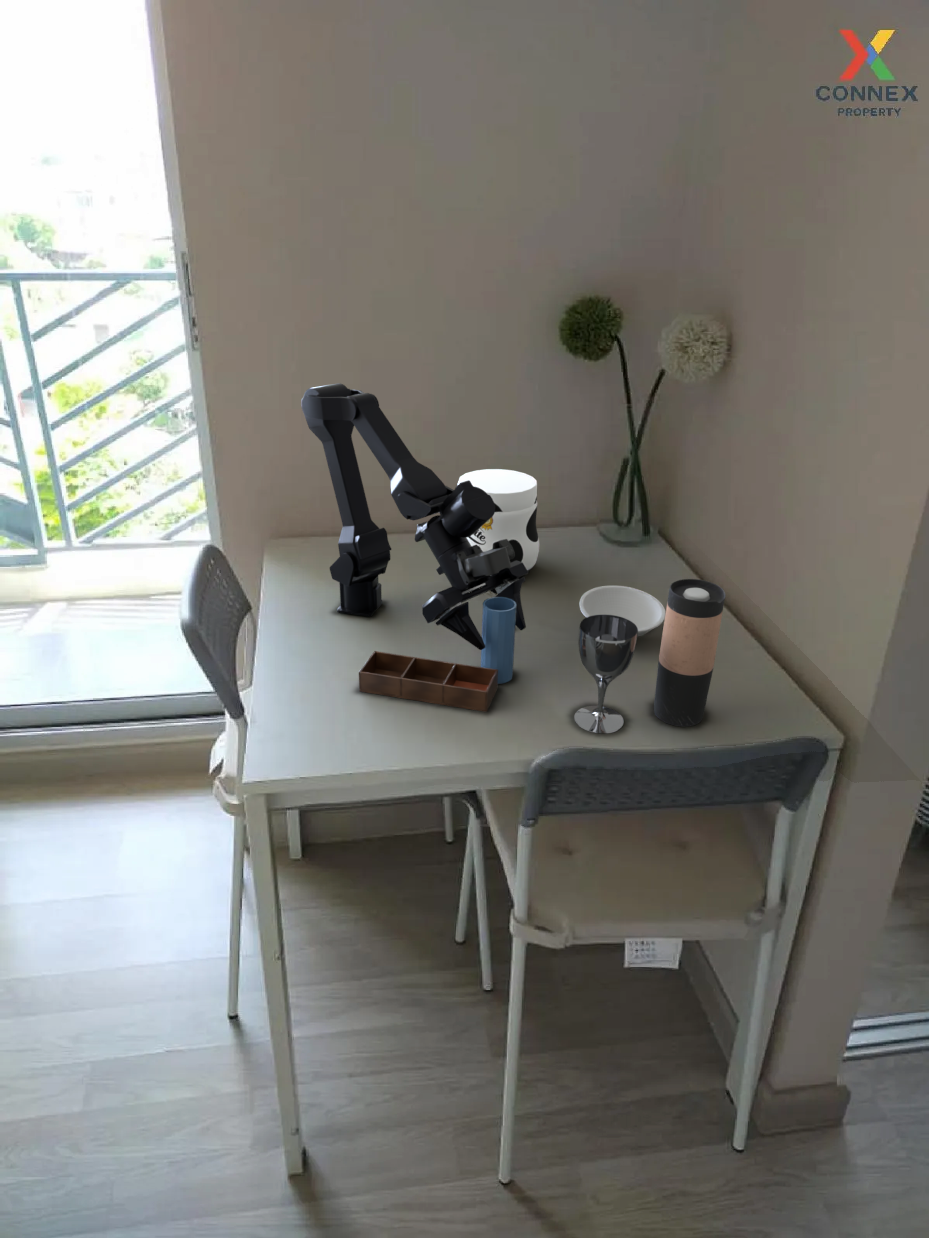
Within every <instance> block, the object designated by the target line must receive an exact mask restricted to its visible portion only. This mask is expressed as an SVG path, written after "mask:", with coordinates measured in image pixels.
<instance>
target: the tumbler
mask: <svg viewBox="0 0 929 1238" xmlns="http://www.w3.org/2000/svg"><path fill="white" fill-rule="evenodd" d="M516 607H517V605H516V602H515V601H513V600H512V599H509V598H506V597H495V596H491V597H487V598H486V599H484V600H483V602H482V614H481V637H482V640H483V642H484V644H485V648H484V649H482V650H480V667H484V668H491V669H497V670H498V684H497V685H499V684H505V683H508V682H510V681H512V680H513V676H514V675H513V674H514V664H515V663H514V662H515V661H514V660H515V644H516V643H515V642H516V627H517V626H516Z"/></svg>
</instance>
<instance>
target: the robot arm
mask: <svg viewBox="0 0 929 1238" xmlns="http://www.w3.org/2000/svg"><path fill="white" fill-rule="evenodd" d="M300 402H301V403H300V405H301V411H302V413H303V416H304V419H305V421H306V424H307V427H308V429H309V430H310V431H311V432H312V434H314V435H315V437H316V438H317V439H318V440H319V441H320V442H321V444H322V447H323V452H324V455H325V460H326V463H327V467H328V472H329V476H330V481H331V484H332V486H333V492H334V495H335V499H336V504H337V508H338V512H339V517H340V520H341V524H342V528H341V531H340V535H339V538H338V542H337V546H338V554H339V557H338V558H337V559H336V560H335V561H334V562H333V563H332V564H331V565H330V566H329V573H330V575H331V579H332V580H333V581H335V582H337V583H339V601H340V603H339V604H340V605H339V606H338V607H337V608H336V612H337V613H338V614H339V613H340V614H348V615H354V616H361V617H368V618H369V617H372V616H373V615H374V613H375V612H376V611H377V610H378V609H379V608H380V606H381V605H383V598H382V584H381V582H379V576H380V575H384V574H385V573H386V571H387V568H388V564H389V561H391V551H392V547H391V545H390V542H389V538H388V531H387V530H386V528H385V527H379V526H378V525H377V524H376V523H375V522H374V521H373V520H372V517H371V513H370V508H369V504H368V500H367V496H366V492H365V488H364V483H363V479H362V476H361V471H360V467H359V463H358V458H357V454H356V450H355V446H354V441H353V437H352V435H353V430H354V428H355V429H356V430H357V432H358V434H359V435H360V436H361V438H362V440H363V442H365V444H366V445H367V447H368V448H369V450H370V451H371V453H372V455H373V456H374V457H375V459H376V460H377V462H378V463H379V464H380V467H381V468H382V469H383V471H384V472H385V473H386V475H387V477H388V479H389V481H390V496H391V497H392V499H393V501H394V503H395V505H396V507H397V509H398V512H400V514H401V515H402V517H403V518H405V519H406V520H410V521H417V520H421V519H424V518H427V517H430V516H432V517H431V518H430V519H428V521H424V522H421V523H418V524H416V532H415V534H414V541H415V543H419V542H422V541H425V542H426V544H427V545H428V547H429V550H430V551H431V552H432V555H433V557H434V558H435V559H436V562H437V563H438V565H439V566H438V567H437V568H436V569H435V570H436V572H437V574H438V576H440V575H445V577H446V579H447V581H448V582H449V584H450V586H449V587H447V588H445V589H442V590H441V591H437V592H435V594H433V595H432V597H430V598H429V599H428V600H427V601H426V602H425V603H423V604H422V606H421V607H422V611H421V612H422V613H421V614H422V616H423V618H424V620H425V621H426V623H427V624H430V623H434V622H435V621H436V622H435V625H436V626H443V627H444V628H446V629H447V630H449V631H451V632H452V633H454V634H456V635H458V636H459V637H461V638H462V639H464V640H465V641H466V642H468V643H469V644H470V645H472V646H473V647H475V648H476V649H478V650H479V651H481V650H482V649H484V648H485V644H484V642H483V640H482V635H481V634H480V632H479V630H478V628H477V626H476V625H475V623H474V621H473V619H472V617H471V616H470V609H469V608H470V607H469V606H470V605H469V600H471V599H473V598H475V597H478V596H480V595H482V594H486V593H487V592H491V593H493V594H496V595H495V596H494V597H506V598H509V599H512V600H513V601H515V602H516V605H517V607H516V626H515V627H517V628H518V630H519V631H523V630H525V629H526V627H527V626H526V620H525V615H524V610H523V605H522V598H521V597H522V596H521V590H522V586H523V583H525V582H526V576H527V575H529V571H527V569H526V567H525V566H524V564H523V563H522V562H520V561H517V560H516V561H514V562H511V563H510V560H511V559H513V558H514V557H515V552H514V549H513V547H512V545H511V544H510V543H509V541H508V540H507V539H504V540H500V541H497V542H495V543H493V549H491V550H488V551H485V552H483V551H482V550H481V548H480V547H479V546H477V545H474V546H471V545H470V543H469V541H468V539H467V538H466V537H470V536H471V535H473V534H474V533H475V532H476V531H477V530H478V529H479V528H480V527H481V526H483V525H484V524H485V523H486V522H487V521H488V520H489V519H490V518H491V517H492V516H493V515H494V513H495V504H494V501H493V499H492V498H491V496H490V495H488V494H487V493H486V492H485V491H483V490H482V489H480V488H478V487H474V486H473V485H472V484H471V482H470V481H469V480H468V481H465V482H461V483H459V484H458V483H457V485H456V486H455V488H454V489H453V488H452V487H449V486H448V485H445V483H444V482H443V481H442V479H440V477H439V476H438V475H437V474H436V473H435V472H434V471H433V470H432V469H431V468H430V467H427V466H426V465H424V464H422V463H420V462H419V461H418V460H417V459H416V458H415V457H414V456H413V454H412V453H411V452H410V450H409V448H408V447H407V446H406V444H405V442H404V441H403V440H402V438H401V437H400V435H399V434H398V433H397V431H396V430H395V428H394V427H393V425H392V424H391V422H390V421H389V419H388V418H387V416H386V414H384V412H383V410H382V409H381V407H380V403H379V399H378V398H377V396H376V395H375V394H373V393H370V392H363V391H362V390H360V389H351V388H348V387H347V386H346V385H345V384H344V383H341V382H339V383H333V384H332V383H331V384H326V385H321V386H315V387H309V388H308V389H306V390H305V392H304V394H303V397H302V398H301V401H300ZM436 514H438V515H436ZM490 575H491V576H490ZM489 576H490V577H489Z"/></svg>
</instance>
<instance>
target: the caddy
mask: <svg viewBox="0 0 929 1238" xmlns="http://www.w3.org/2000/svg"><path fill="white" fill-rule="evenodd" d="M498 685H499V684H498V670H497V669H491V668H484V667H481V666H477V665H472V664H471V665H469V664H464V663H456V662H450V661H443V660H438V659H437V660H436V659H430V658H425V657H424V658H423V657H417V656H411V655H404V654H396V653H390V652H384V651H377V650H374V651H373V652H372V654H370V656H369V657H368V658H367V660H366V661H365V663H364V664H363V666H362V667H361V668H360V669H359V671H358V687H359V688H358V690H359V692H362V693H367V694H372V695H373V694H374V695H380V696H385V697H393V698H397V699H403V700H404V699H405V700H410V701H417V702H423V703H427V704H428V703H430V704H434V705H440V706H448V707H454V708H460V709H466V710H473V711H478V712H484V713H487V712H488V711H489V709H490V706H491V704H492V702H493V699H494V697H495V695H496V693H497V690H498Z"/></svg>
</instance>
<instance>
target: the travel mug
mask: <svg viewBox="0 0 929 1238" xmlns="http://www.w3.org/2000/svg"><path fill="white" fill-rule="evenodd" d="M725 599H726V591H725V590H724V589H723V587H721V586H720V585H719V584H717V583H714V582H711V581H708V580H704V579H699V578H698V579H697V578H683V579H678V580H675V581H673V582H672V583H670V585H669V589H668V595H667V600H666V609H665V613H666V614H665V619H664V621H663V627H662V628H663V629H662V635H661V641H660V649H659V653H658V662H657V673H656V680H655V681H656V682H655V683H656V684H655V691H654V701H653V703H654V704H653V713H654V715H655V716H656V717H657V718H658V720H660V721H662V722H663V723H666V724H668V725H671V726H675V727H692V726H696V725H697V724H699V723H701V722H702V720H703V718H704V714H705V708H706V706H707V702H708V701H707V700H708V695H709V692H710V691H709V690H710V686H711V681H712V677H713V672H714V666H715V661H716V654H717V649H718V642H719V637H720V632H721V631H720V630H721V625H722V617H723V611H724V605H725Z"/></svg>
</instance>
